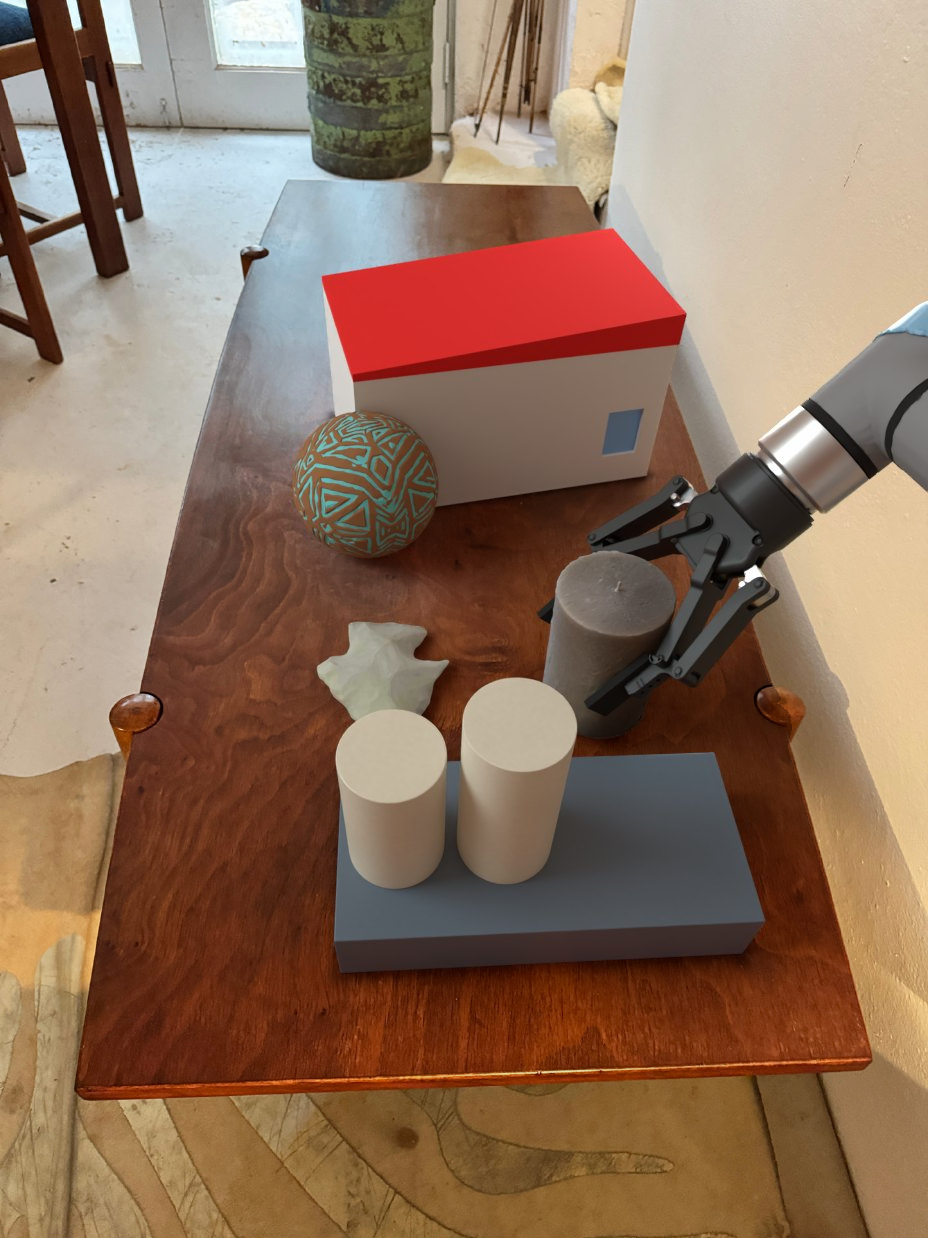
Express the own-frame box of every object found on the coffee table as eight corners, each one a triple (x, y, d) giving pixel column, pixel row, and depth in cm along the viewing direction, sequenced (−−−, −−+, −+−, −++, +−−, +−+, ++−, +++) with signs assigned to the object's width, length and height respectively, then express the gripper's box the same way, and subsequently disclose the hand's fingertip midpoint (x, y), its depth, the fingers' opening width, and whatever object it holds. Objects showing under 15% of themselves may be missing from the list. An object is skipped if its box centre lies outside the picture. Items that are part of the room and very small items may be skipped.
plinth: (697, 790, 73) (714, 752, 68) (742, 954, 63) (766, 921, 59) (347, 803, 71) (341, 764, 66) (340, 973, 62) (333, 941, 57)
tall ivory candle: (570, 842, 63) (601, 725, 51) (504, 904, 59) (521, 793, 48) (503, 781, 66) (518, 659, 55) (437, 837, 62) (438, 719, 51)
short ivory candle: (464, 846, 62) (470, 757, 53) (391, 909, 59) (384, 824, 50) (402, 785, 65) (397, 691, 56) (329, 841, 62) (312, 750, 53)
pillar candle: (661, 731, 75) (700, 616, 64) (554, 747, 73) (576, 632, 62) (627, 649, 81) (657, 532, 70) (528, 662, 80) (543, 544, 69)
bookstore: (649, 475, 102) (689, 313, 87) (363, 517, 95) (350, 349, 80) (589, 382, 115) (614, 227, 100) (334, 413, 109) (319, 252, 93)
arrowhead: (318, 625, 83) (312, 758, 73) (319, 602, 80) (314, 736, 70) (443, 632, 85) (454, 761, 75) (448, 609, 82) (460, 740, 73)
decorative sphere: (327, 604, 86) (313, 489, 75) (283, 515, 95) (264, 400, 84) (460, 563, 91) (464, 449, 80) (406, 482, 100) (403, 369, 88)
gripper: (893, 600, 60) (650, 778, 68) (731, 425, 74) (546, 589, 82) (858, 560, 55) (600, 758, 62) (691, 380, 69) (498, 560, 77)
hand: (569, 662), depth 72 cm, fingers closed on pillar candle, 10 cm apart
